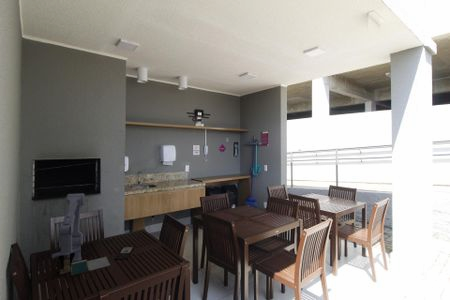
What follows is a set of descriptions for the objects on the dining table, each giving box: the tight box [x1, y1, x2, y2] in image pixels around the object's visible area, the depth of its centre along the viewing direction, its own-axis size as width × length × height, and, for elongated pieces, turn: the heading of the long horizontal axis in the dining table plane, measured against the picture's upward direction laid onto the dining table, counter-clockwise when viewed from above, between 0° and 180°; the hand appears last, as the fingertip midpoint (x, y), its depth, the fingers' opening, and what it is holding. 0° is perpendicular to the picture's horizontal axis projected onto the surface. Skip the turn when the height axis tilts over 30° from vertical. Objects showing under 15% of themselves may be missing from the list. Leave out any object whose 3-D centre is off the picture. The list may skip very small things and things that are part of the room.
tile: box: [70, 259, 88, 277], centre depth 147 cm, size 2×8×7 cm, turn 126°
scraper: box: [59, 257, 71, 275], centre depth 149 cm, size 4×7×8 cm, turn 126°
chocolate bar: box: [113, 246, 135, 261], centre depth 174 cm, size 9×1×18 cm
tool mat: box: [87, 256, 111, 272], centre depth 158 cm, size 14×12×1 cm
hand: (66, 266), depth 149 cm, fingers closed on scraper, 3 cm apart
